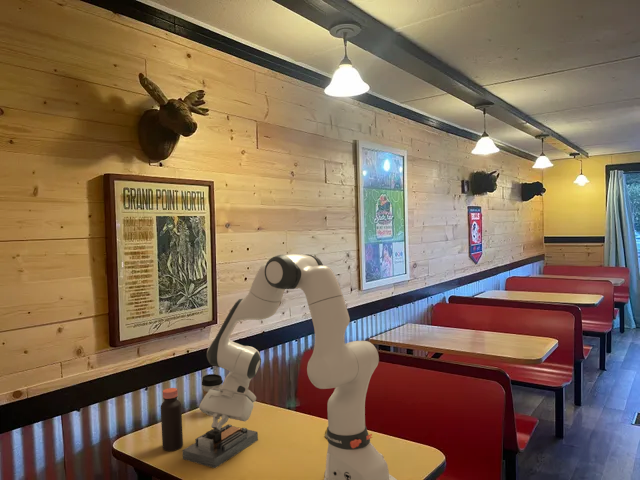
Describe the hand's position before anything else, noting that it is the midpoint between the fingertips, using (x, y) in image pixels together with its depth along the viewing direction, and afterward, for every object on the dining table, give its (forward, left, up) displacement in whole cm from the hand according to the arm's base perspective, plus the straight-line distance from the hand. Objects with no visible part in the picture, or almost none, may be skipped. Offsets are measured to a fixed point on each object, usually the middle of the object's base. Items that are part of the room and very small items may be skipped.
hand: (215, 428), depth 163 cm
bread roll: (-19, -37, -9) cm, 43 cm away
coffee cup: (+33, -16, -8) cm, 37 cm away
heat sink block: (+1, -2, -8) cm, 9 cm away
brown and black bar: (+4, -10, -3) cm, 11 cm away
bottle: (+15, +9, -8) cm, 19 cm away
